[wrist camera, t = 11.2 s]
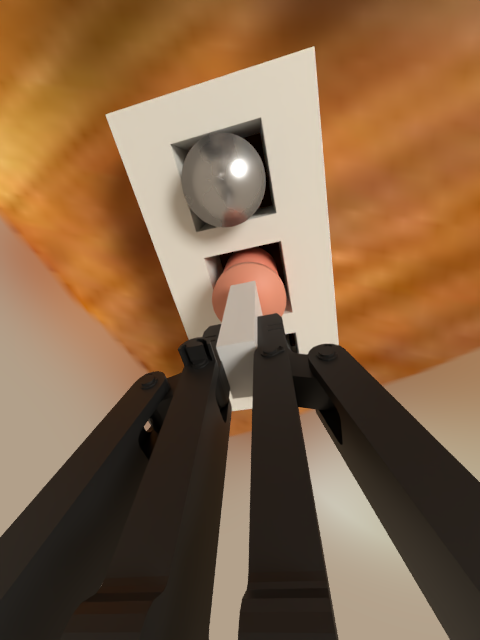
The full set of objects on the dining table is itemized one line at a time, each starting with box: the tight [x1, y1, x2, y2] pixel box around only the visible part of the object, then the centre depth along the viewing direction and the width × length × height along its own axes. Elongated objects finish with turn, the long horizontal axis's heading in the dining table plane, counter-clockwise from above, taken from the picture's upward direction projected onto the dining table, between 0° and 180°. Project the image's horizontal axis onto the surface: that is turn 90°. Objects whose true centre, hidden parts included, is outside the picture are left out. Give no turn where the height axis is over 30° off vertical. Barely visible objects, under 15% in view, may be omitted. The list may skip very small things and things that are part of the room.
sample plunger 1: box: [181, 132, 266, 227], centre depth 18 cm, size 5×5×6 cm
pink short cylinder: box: [212, 247, 286, 322], centre depth 20 cm, size 5×5×6 cm
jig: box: [106, 46, 339, 411], centre depth 23 cm, size 24×12×6 cm, turn 13°
